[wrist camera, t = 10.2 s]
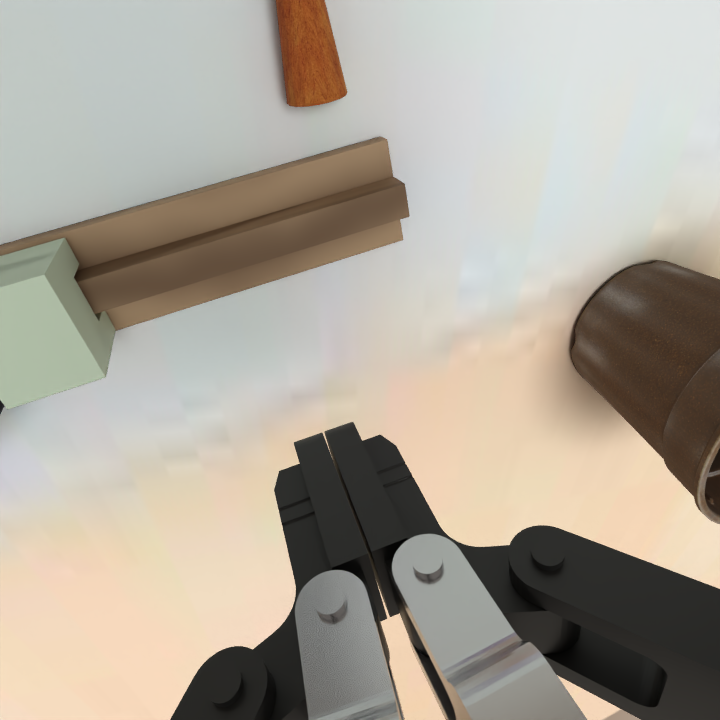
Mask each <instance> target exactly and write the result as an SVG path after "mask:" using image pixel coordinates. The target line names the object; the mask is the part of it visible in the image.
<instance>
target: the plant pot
mask: <svg viewBox="0 0 720 720" xmlns="http://www.w3.org/2000/svg"><path fill="white" fill-rule="evenodd" d="M575 336H576V340H575V345H574V347H573V348H572V349H571V355H572V360H573V364H574V366H575V368H576V369H577V371H578V372H579V374H580V375H581V376H582V377H583V378H584V379H585V380H586V381H587V382H588V383H589V384H590V385H591V386H592V387H593V388H594V389H595V390H596V391H597V392H599V393H600V394H601V395H602V396H603V397H604V398H605V399H606V400H607V401H608V402H609V403H610V404H611V406H612V407H613V408H614V409H615V410H616V411H617V412H618V413H619V414H620V415H621V416H622V417H623V418H624V419H625V420H626V421H627V422H628V423H629V424H630V425H631V426H632V427H633V428H634V429H635V430H636V431H637V432H638V433H639V434H640V435H641V436H642V437H643V438H644V439H645V440H646V441H647V442H648V443H649V444H650V445H651V446H652V447H653V449H654V450H655V451H656V452H657V453H658V454H659V455H660V456H661V457H662V458H663V459H664V462H665V464H666V466H667V468H668V469H669V470H670V472H671V473H672V474H673V475H674V476H675V477H676V478H677V479H678V480H679V481H680V482H681V483H682V484H683V486H684V487H685V488H686V489H687V490H688V491H689V492H690V493H691V494H692V495H693V496H694V499H695V503H696V505H697V507H698V509H699V510H700V511H701V512H702V513H703V514H704V515H705V516H706V517H707V518H708V519H710V520H711V521H713V522H715V523H718V524H720V279H717V278H713V277H710V276H707V275H704V274H701V273H698V272H696V271H693V270H690V269H687V268H684V267H681V266H678V265H676V264H673V263H670V262H666V261H654V262H653V263H650V264H644V265H635V266H632V267H630V268H628V269H626V270H624V271H623V272H621V273H620V274H618V275H617V276H615V277H614V278H613V279H611V280H610V281H609V282H608V283H607V284H606V285H604V286H603V287H602V288H601V289H600V290H599V291H598V293H597V294H596V295H595V296H594V297H593V298H592V300H591V301H590V302H589V304H588V305H587V306H586V308H585V309H584V311H583V313H582V315H581V316H580V318H579V320H578V322H577V325H576V327H575Z"/></svg>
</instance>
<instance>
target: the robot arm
mask: <svg viewBox="0 0 720 720" xmlns="http://www.w3.org/2000/svg"><path fill="white" fill-rule="evenodd" d="M325 436H326V439H327V442H328V446H329V449H330V452H331V454H330V452H329V449H328V446H327V444H326V441H325V438H324V436H323V433H319V434H317V435H314V436H311V437H308V438H305V439H302V440H300V441H297V442H294V446H295V449H296V452H297V456H298V459H299V462H300V464H298V465H295V466H292V467H289V468H286V469H284V470H281V471H279V474H278V478H277V482H276V485H275V489H274V491H275V496H276V500H277V504H278V509H279V513H280V518H281V522H282V525H283V531H284V535H285V540H286V544H287V548H288V553H289V557H290V561H291V566H292V570H293V575H294V579H295V584H296V597H295V602H294V605H293V608H292V610H291V612H290V614H289V616H288V617H287V619H286V620H285V622H284V623H283V624H282V625H281V626H280V627H279V628H278V629H277V630H276V631H275V632H274V633H273V634H272V635H270V636H269V637H268V638H267V639H265V640H264V641H263V642H262V643H260V644H259V645H258V646H257V647H255V648H254V649H253V650H252V649H250V648H247V647H242V646H235V647H229V648H226V649H223V650H221V651H219V652H217V653H216V654H214V655H213V656H212V657H210V658H209V659H208V660H207V661H206V662H205V663H204V664H203V665H202V666H201V667H200V669H199V670H198V672H197V673H196V675H195V676H194V678H193V680H192V682H191V683H190V685H189V687H188V689H187V691H186V692H185V694H184V696H183V698H182V700H181V701H180V703H179V705H178V707H177V709H176V710H175V712H174V714H173V716H172V718H171V719H170V720H405V718H404V715H403V711H402V707H401V704H400V700H399V696H398V692H397V689H396V685H395V681H394V678H393V674H392V670H391V666H390V663H389V660H390V655H389V649H388V645H387V642H386V639H385V636H384V632H383V629H382V626H381V623H380V621H383V620H385V619H387V616H386V613H385V609H384V606H383V602H382V599H381V595H380V592H379V589H380V591H381V594H382V597H383V599H384V602H385V605H386V607H387V610H388V613H389V615H390V617H392V616H394V615H397V614H399V613H400V615H401V618H402V620H403V623H404V625H405V628H406V630H407V633H408V636H409V639H410V643H411V647H412V650H413V652H414V654H415V656H416V659H417V661H418V663H419V665H420V667H421V669H422V671H423V673H424V675H425V677H426V679H427V681H428V684H429V686H430V688H431V690H432V692H433V694H434V696H435V698H436V700H437V702H438V704H439V707H440V709H441V711H442V713H443V715H444V717H445V719H446V720H587V719H586V717H585V716H584V714H583V713H582V711H581V710H580V708H579V707H578V706H577V704H576V703H575V701H574V700H573V698H572V697H571V695H570V694H569V692H568V691H567V690H566V688H565V687H564V685H563V684H562V682H561V681H560V679H559V678H558V676H560V677H562V678H564V679H566V680H567V681H569V682H571V683H573V684H575V685H577V686H579V687H581V688H583V689H584V690H586V691H588V692H590V693H592V694H594V695H596V696H598V697H600V698H601V699H603V700H605V701H607V702H609V703H611V704H613V705H615V706H617V707H618V708H620V709H622V710H624V711H626V712H628V713H630V714H632V715H634V716H635V717H637V718H639V719H641V720H720V589H718V588H716V587H713V586H710V585H708V584H705V583H702V582H700V581H697V580H694V579H692V578H689V577H686V576H684V575H681V574H678V573H676V572H673V571H670V570H668V569H665V568H662V567H660V566H657V565H654V564H652V563H649V562H647V561H644V560H641V559H639V558H636V557H633V556H631V555H628V554H625V553H623V552H620V551H617V550H615V549H612V548H609V547H607V546H604V545H601V544H599V543H596V542H593V541H591V540H588V539H586V538H583V537H580V536H578V535H575V534H572V533H570V532H567V531H564V530H562V529H559V528H556V527H552V526H541V525H540V526H533V527H529V528H526V529H524V530H522V531H521V532H519V533H518V534H517V535H516V536H515V537H514V538H513V540H512V541H511V543H510V545H506V546H492V547H473V546H468V545H464V544H461V543H459V542H457V541H455V540H453V539H452V538H450V537H449V536H448V535H447V534H446V533H445V532H444V531H443V530H442V529H441V527H440V525H439V524H438V522H437V520H436V518H435V516H434V515H433V513H432V511H431V509H430V507H429V505H428V504H427V502H426V500H425V498H424V496H423V494H422V493H421V491H420V489H419V487H418V485H417V483H416V482H415V480H414V478H413V477H412V474H411V472H410V471H409V469H408V467H407V465H406V464H405V461H404V460H403V458H402V456H401V454H400V452H399V450H398V449H397V447H396V445H394V444H393V443H391V442H390V441H389V440H387V439H386V438H384V437H383V436H381V435H378V436H375V437H372V438H369V439H367V440H364V441H362V440H361V438H360V435H359V433H358V431H357V429H356V427H355V425H354V423H353V422H350V423H347V424H344V425H342V426H339V427H336V428H333V429H330V430H328V431H325ZM331 456H332V457H331ZM376 581H377V582H376ZM377 583H378V585H377ZM378 586H379V589H378ZM557 675H558V676H557Z"/></svg>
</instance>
